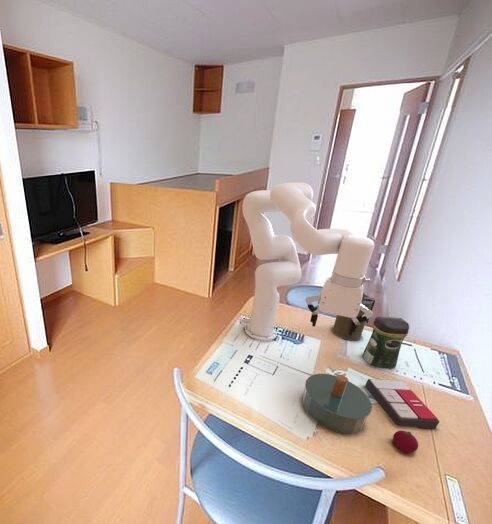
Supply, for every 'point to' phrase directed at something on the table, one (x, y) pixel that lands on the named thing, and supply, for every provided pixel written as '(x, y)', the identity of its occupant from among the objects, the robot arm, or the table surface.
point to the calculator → (401, 403)
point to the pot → (331, 418)
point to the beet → (405, 441)
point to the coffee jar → (385, 342)
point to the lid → (338, 396)
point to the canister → (343, 322)
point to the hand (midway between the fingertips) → (330, 328)
